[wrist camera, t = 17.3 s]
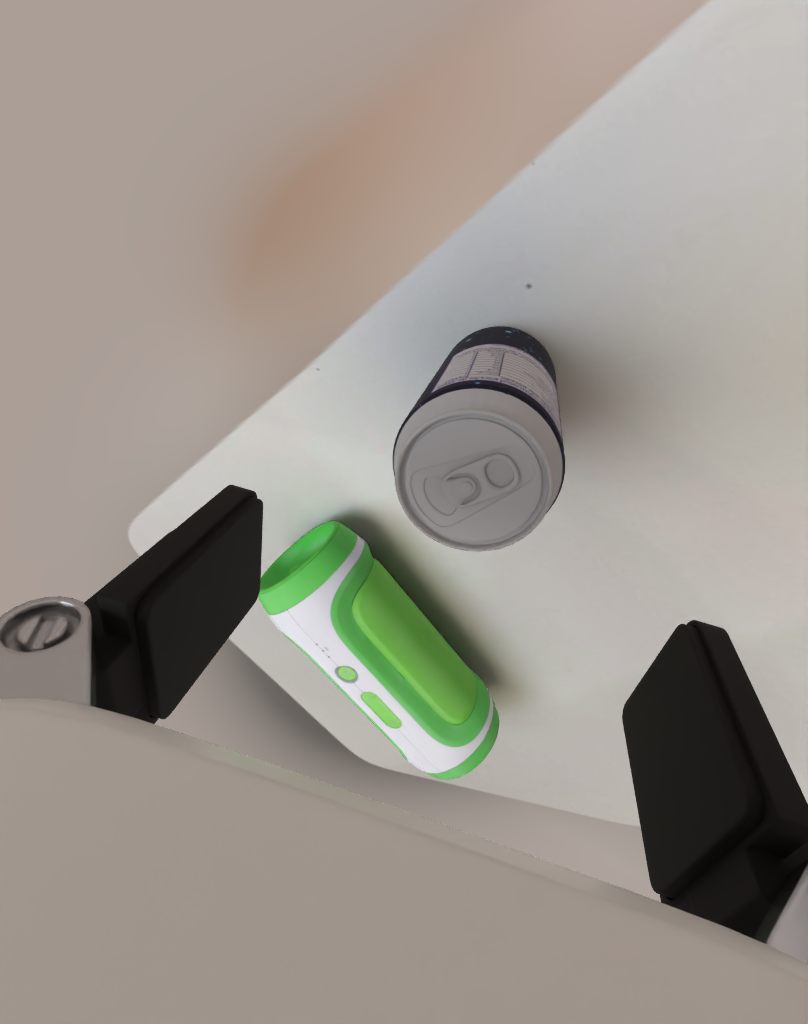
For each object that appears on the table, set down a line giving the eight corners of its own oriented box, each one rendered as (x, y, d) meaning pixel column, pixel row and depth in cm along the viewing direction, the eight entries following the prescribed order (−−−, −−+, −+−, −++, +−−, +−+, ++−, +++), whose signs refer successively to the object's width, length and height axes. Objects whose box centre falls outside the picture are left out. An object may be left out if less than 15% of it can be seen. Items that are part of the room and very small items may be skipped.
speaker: (283, 543, 34) (226, 616, 28) (359, 497, 31) (314, 567, 24) (429, 705, 39) (408, 797, 33) (508, 680, 36) (502, 778, 29)
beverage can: (424, 357, 25) (349, 445, 15) (527, 300, 23) (518, 361, 13) (472, 449, 27) (435, 581, 17) (572, 405, 25) (595, 529, 15)
